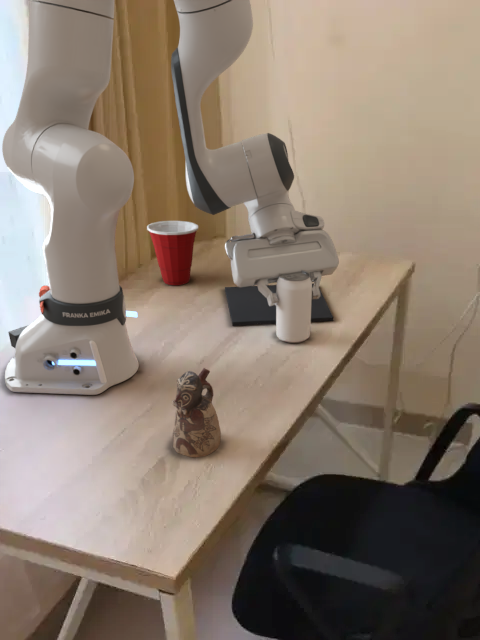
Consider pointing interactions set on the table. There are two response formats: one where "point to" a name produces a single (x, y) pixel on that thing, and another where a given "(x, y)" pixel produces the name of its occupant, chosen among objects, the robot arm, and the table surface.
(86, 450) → the table surface
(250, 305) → the desk mat
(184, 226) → the plastic cup
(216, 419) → the figurine
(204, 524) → the table surface
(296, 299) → the can
